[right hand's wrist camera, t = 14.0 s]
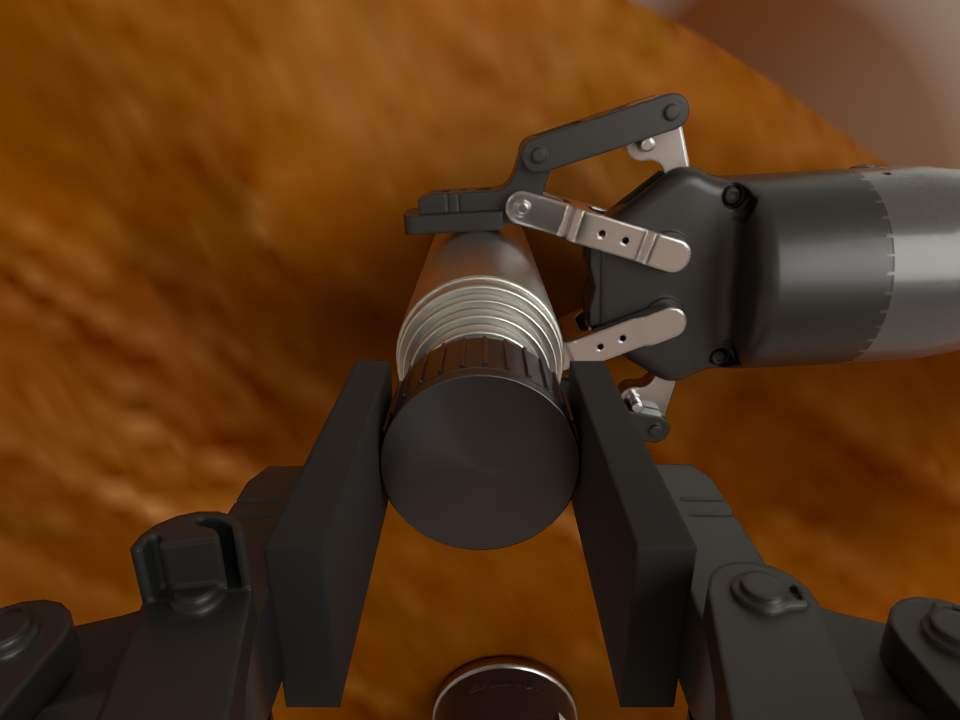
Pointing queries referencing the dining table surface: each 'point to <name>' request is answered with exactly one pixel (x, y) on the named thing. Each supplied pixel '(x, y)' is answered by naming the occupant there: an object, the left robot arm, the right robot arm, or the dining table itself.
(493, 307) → the bottle
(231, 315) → the dining table surface
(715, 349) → the left robot arm
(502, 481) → the cap
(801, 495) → the dining table surface
